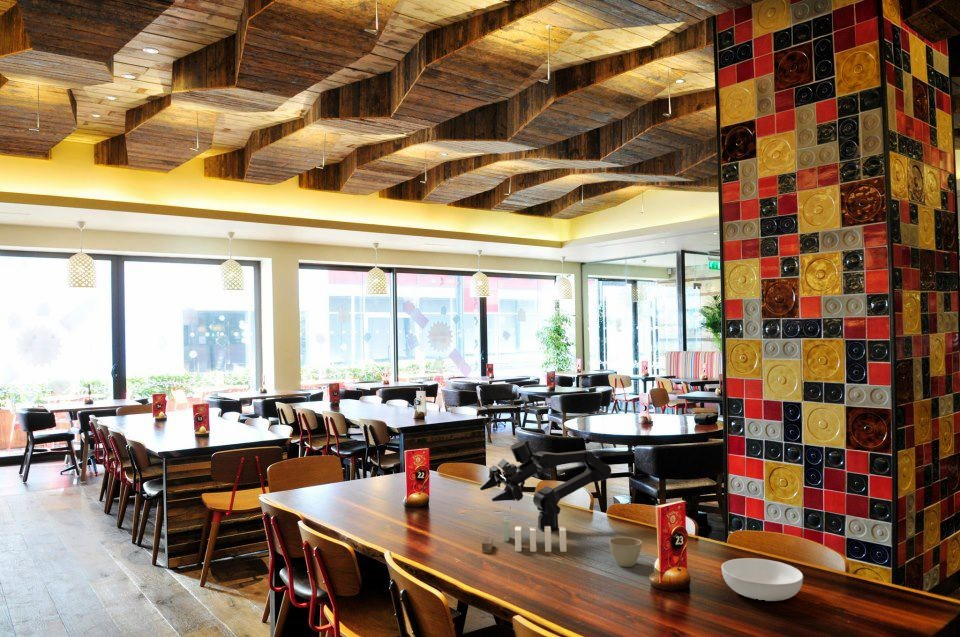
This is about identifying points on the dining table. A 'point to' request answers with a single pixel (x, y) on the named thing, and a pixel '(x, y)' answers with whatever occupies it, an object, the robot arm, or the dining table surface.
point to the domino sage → (505, 529)
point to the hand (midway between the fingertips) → (486, 494)
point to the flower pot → (625, 550)
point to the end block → (487, 545)
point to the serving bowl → (762, 578)
